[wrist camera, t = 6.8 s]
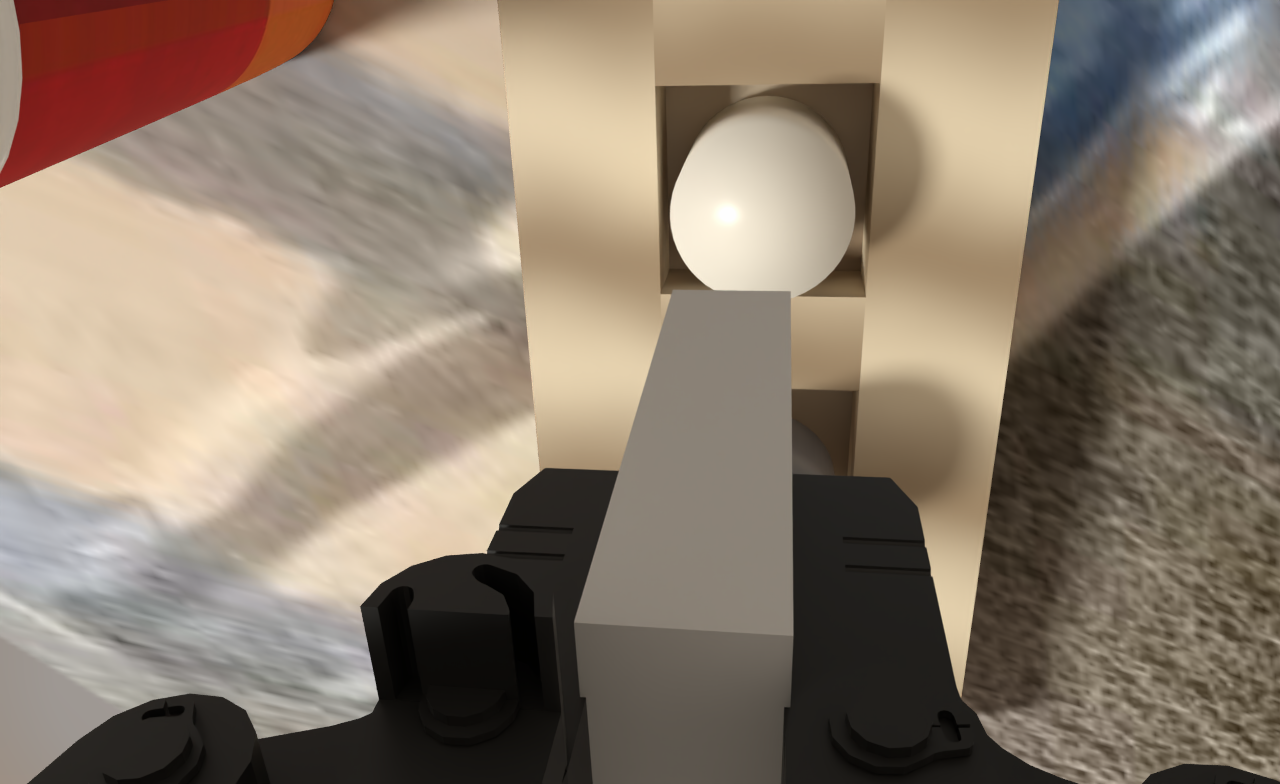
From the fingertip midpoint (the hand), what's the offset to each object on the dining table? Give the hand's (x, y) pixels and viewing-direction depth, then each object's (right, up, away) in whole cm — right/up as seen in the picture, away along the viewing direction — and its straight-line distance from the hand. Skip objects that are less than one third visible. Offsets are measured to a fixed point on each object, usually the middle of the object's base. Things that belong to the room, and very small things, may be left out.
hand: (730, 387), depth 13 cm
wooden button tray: (+3, 0, +17) cm, 17 cm away
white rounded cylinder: (+2, +5, +12) cm, 13 cm away
